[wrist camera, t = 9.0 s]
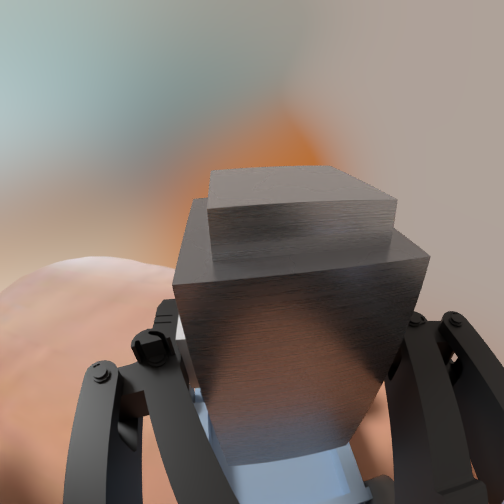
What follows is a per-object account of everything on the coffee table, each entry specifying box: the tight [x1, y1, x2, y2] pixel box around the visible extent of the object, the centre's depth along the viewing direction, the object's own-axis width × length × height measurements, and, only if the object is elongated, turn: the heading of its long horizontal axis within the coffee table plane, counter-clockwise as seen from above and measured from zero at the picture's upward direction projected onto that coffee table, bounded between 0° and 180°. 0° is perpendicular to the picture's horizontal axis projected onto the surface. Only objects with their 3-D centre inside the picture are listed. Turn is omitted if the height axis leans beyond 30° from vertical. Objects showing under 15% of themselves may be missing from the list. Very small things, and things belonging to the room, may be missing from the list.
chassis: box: [189, 384, 395, 504], centre depth 17 cm, size 16×20×4 cm
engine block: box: [172, 166, 430, 466], centre depth 10 cm, size 6×6×12 cm
